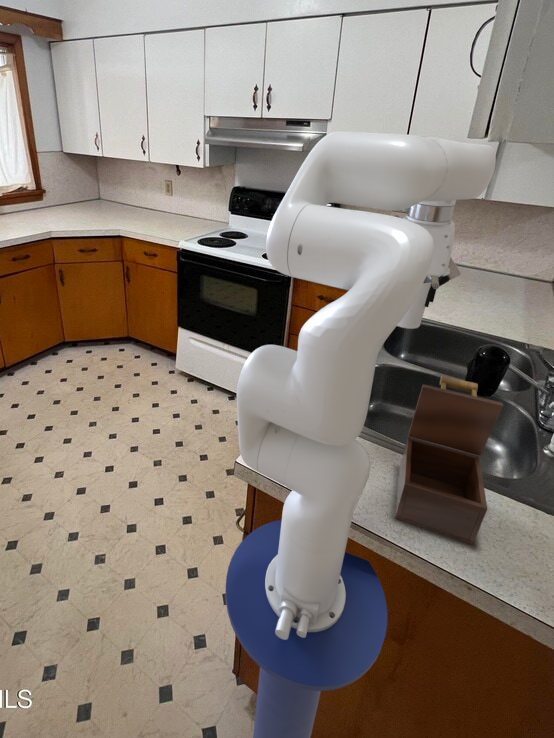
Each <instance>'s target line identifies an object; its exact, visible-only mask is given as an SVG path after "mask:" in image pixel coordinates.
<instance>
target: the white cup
mask: <svg viewBox="0 0 554 738" xmlns="http://www.w3.org/2000/svg"><path fill="white" fill-rule="evenodd" d="M431 285H432V281H431V276H430V275H427V276H426V278H425V280H424V282H423V284H422V286H421V288H420V290H419V292H418V294H417V296H416V298H415V300H414V301H413V303H412V304H411V306H410V308H409V309H408V311H407V312H406V314H405V315H404V316H403V318H402V319H401V321H400V322H399V323H398V325H397V326H396V327H399V328H402V329H408V330H409V329H411V330H414V329H418V328H419V327H420V326H421V322H422V319H423V318H424V317H423V316H424V313H425V310H426V307H425V302H426V298H427V295H428V292H429V289H430V288H431Z"/></svg>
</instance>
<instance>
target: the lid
mask: <svg viewBox="0 0 554 738" xmlns="http://www.w3.org/2000/svg"><path fill="white" fill-rule="evenodd" d="M439 386H440V387H437V386H433V385H428V384H425V383H424V384H422V386H421V389H420V393H419V396H418V399H417V403H416V406H415V409H414V413H413V417H412V421H411V423H410V427H409V430H408V434H407V437H411V438H415V439H419V440H422V441H426V442H430V443H433V444H437V445H440V446H444V447H448V448H451V449H455V450H459V451H462V452H466V453H469V454H473V455H477V456H482V453H483V451H484V448H485V447H486V444H487V442H488V440H489V438H490V436H491V434H492V431H493V429H494V427H495V425H496V424H497V420H498V419H499V416H500V414H501V412H502V409H503V408H504V403H503V402H502V401H498V400H493V399H488V398H484V397H480V396H477V395H478V394H477V393H478V388H479V384H478V382H477V383H476V382H473V381H467V380H463V379H458V378H453V377H449V376H446V375H445V376H444V375H441V376H440V379H439ZM447 388H450V389H447ZM451 389H454V390H451ZM455 390H459V391H463V392H468V393H470V394H466V393H463V392H458V391H455Z"/></svg>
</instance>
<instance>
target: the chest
mask: <svg viewBox="0 0 554 738" xmlns="http://www.w3.org/2000/svg"><path fill="white" fill-rule="evenodd" d="M480 456H481V455H480ZM480 456H479V455H475V454H472V453H468V452H464V451H461V450H457V449H454V448H450V447H446V446H443V445H439V444H435V443H432V442H428V441H425V440H421V439H417V438H414V437H410V436H407V438H406V441H405V445H404V450H403V454H402V456H401V461H400V465H399V469H398V478H397V490H396V502H395V503H396V504H395V505H396V506H395V515H394V519H395V520H399V521H402V522H405V523H407V524H411V525H413V526H416V527H419V528H422V529H425V530H427V531H431V532H433V533H437V534H439V535H442V536H445V537H448V538H452V539H454V540H458V541H460V542H463V543H466V544H469V545H474V543H475V541H476V538H477V536H478V533H479V531H480V529H481V526H482V524H483V521H484V519H485V516H486V514H487V511H488V504H487V499H486V498H487V496H486V491H485V490H486V489H485V484H484V477H483V470H482V464H481V457H480Z"/></svg>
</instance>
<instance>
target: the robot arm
mask: <svg viewBox="0 0 554 738" xmlns="http://www.w3.org/2000/svg"><path fill="white" fill-rule="evenodd" d="M496 158H497V157H496V151H495V149H494V147H493V146H492V145H490V144H482V143H481V144H480V143H470V142H462V141H457V140H453V139H446V138H441V137H434V136H427V135H426V136H423V135H415V134H406V133H390V132H389V133H387V132H370V131H369V132H368V131H349V130H347V131H346V130H337V131H336V130H335V131H332V132H330V133H328V134H326V135H325V136H323V137H322V138H321V139H320V140H319V141H318V142H317V143H316V144H315V145H314V147H312V149H311V150H310V152H309V153H308V154H307V156H306V157H305V159H304V161H302V162H303V163H301V165H300V167H299V169H298V170H297V173H296V174H295V177H294V178H293V180H292V181H291V184H290V185H289V187H288V189H287V191H286V192H285V195H284V196H283V198H282V200H281V201H280V203H279V205H278V206H277V209H276V211H275V213H274V214H273V216H272V218H271V220H270V221H271V222H270V224H269V226H268V230H267V233H266V234H267V235H266V239H265V253H266V258H267V260H268V262H269V264H270V265H271V267H272V268H273V269H275V270H276V271H277V272H279V273H280V274H282V275H285V276H288V277H290V278H291V277H292V278H294V279H295V278H296V279H298V280H299V279H300V280H303V281H308V282H311V283H316V284H320V285H324V286H327V287H333V288H337V289H342V290H346V293H344V294H343V295H342V296H341V297H338V298H337V299H335V300H334V301H332V302H330V303H328V304H326V305H325V306H324V307H322V308H320V309H319V310H318V311H317V312H315V313H314V314H313V315H312V316H311V317H309V319H307V320H306V322H305V323H304V324H303V325H302V327H301V328H300V331H299V334H298V337H297V350H295V349H292V348H289V347H286V346H283V345H277V344H264V345H261V346H260V347H257V348H255V350H253V351H252V352H251V353H250V354H249V356H248V357H247V358H246V360H245V361H244V364H243V366H242V369H241V371H240V373H239V376H238V382H237V387H236V413H237V414H236V417H237V432H238V433H237V435H238V447H239V454H240V457H241V459H242V460H243V462H244V463H245V465H247V466H248V467H249V468H250V469H252V470H254V471H256V473H259V474H261V475H263V476H265V477H266V478H269V479H271V480H273V481H274V482H277V483H279V484H280V485H282V486H284V487H286V488H287V489H289V490H291V491H290V492H289V494H288V495H287V497H286V498H285V501H284V503H283V507H282V514H281V520H282V522H281V531H280V540H279V549H278V555H276V557H275V558H274V559H273V560H272V561H271V563H270V564H269V566H268V569H267V572H266V578H265V589H266V595H267V598H268V601H269V603H270V605H271V607H272V609H273V611H274V612H275V613H276V614H277V616H278V617H279V620H278V623H277V627H276V630H275V634H276V635H277V636H278V637H279V638H281V639H283V640H287V639H288V637H289V633H290V629H291V627H293V628H295V629H297V635H298V636H300V637H302V638H305V637H306V634H307V632H319V631H323V630H326V629H328V628H330V627H331V626H332V625H334V624H335V623H336V622H337V621H338V619H339V618H340V616H341V614H342V612H343V609H344V605H345V599H346V592H345V586H344V582H343V579H342V577H341V575H340V573H341V568H342V563H343V559H344V554H345V552H346V548H347V544H348V539H349V536H350V535H349V534H350V529H351V525H352V521H353V517H354V514H355V511H356V508H357V506H358V503H359V501H360V499H361V497H362V495H363V492H364V491H365V488H366V487H367V483H368V481H369V477H370V473H371V465H372V464H371V457H370V455H369V452H368V450H367V448H366V447H365V446H364V445H363V444H362V443H361V442H360V441H358V440H357V438H358V437H359V436H360V434H361V432H362V431H363V429H364V426H365V422H366V419H367V416H368V411H369V405H370V400H371V394H372V389H373V383H374V377H375V372H376V371H375V370H376V367H377V360H378V356H379V353H380V351H381V350H382V347H383V346H384V344H385V342H386V340H387V339H388V338H389V337H390V335H391V334H392V333H393V332H394V330H395V329H396V327H398V326H397V325H398V323H399V322H400V321H401V319H402V318H403V316H404V315H405V314H406V312H407V311H408V309H409V308H410V306H411V304H412V303H413V301H414V300H415V298H416V296H417V294H418V292H419V290H420V288H421V286H422V284H423V282H424V280H425V278H426V276H427V275H428V276H430V277H431V281H432V285H431V288H430V289H429V292H428V295H427V298H426V302H425V308H429V307H430V303H434V300H435V298H436V297H435V296H436V293H437V290H438V289H439V288H440V287H441V286H443V285H445V284H446V283H448V282H449V281H451V280H454V279H455V278H457V277H460V276H461V269H460V268H459V267H458V265H457V264H456V262H455V261H454V259H453V258H452V253H453V246H454V240H455V231H456V223H455V222H454V221H453V220H452V218H453V215H454V210H455V206H456V203H457V201H462V200H463V201H464V200H475V199H477V198H479V197H480V196H481V195H482V194H483V193H484V192H485V191H486V189H487V188H488V186H489V185H490V183H491V181H492V178H493V176H494V172H495V168H496V162H497V161H496ZM331 203H333V204H340V205H346V206H354V207H359V208H360V207H361V208H366V209H367V208H368V209H375V210H380V211H381V210H382V211H401V212H404V213H406V214H407V215H405V216H403V218H402V217H398V216H393V215H389V214H384V213H378V212H372V211H364V210H356V209H349V208H341V207H335V206H328V204H331ZM448 269H449V271H448ZM270 590H271V591H270ZM331 617H332V618H331ZM294 621H296V622H297V623H296V622H294Z"/></svg>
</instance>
